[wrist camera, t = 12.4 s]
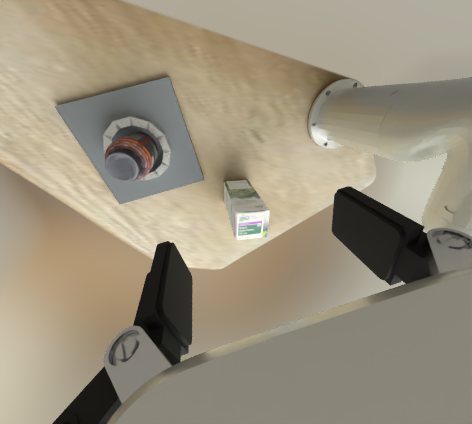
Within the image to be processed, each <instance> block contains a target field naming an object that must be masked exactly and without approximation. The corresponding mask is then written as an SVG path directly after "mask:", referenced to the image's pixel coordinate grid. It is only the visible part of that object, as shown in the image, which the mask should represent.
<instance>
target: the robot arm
mask: <svg viewBox="0 0 472 424" xmlns="http://www.w3.org/2000/svg"><path fill="white" fill-rule="evenodd" d="M312 123H313V124H312ZM308 129H309V134H310V137H311V138H312V140H313V142H314V143H315V144H316V145H318V146H320V147H322V148H326V149H334V148H338V147H340V146H342V145H344V146H347V147H350V148H354V149H357V150H361V151H364V152H367V153H371V154H374V155H378V156H381V157H384V158H388V159H392V160H395V161H400V162H417V161H421V160H426V159H429V158H433V157H436V156H438V155H441V154H444V153H446V152H447V159H446V161H445V164H444V166H443V168H442V172H441V174H440V176H439V178H438V180H437V182H436V184H435V187H434V189H433V191H432V193H431V195H430V197H429V199H428V202H427V204H426V206H425V208H424V211H423V215H422V224H423V226H422V225H420V224H418V223H416V222H414V221H413V220H411V219H409V218H407V217H405V216H403V215H402V214H400V213H398V212H396V211H394V210H392V209H390V208H389V207H387V206H385V205H383V204H381V203H379V202H378V201H376V200H374V199H372V198H370V197H368V196H367V195H365V194H363V193H361V192H359V191H357V190H356V189H354V188H352V187H345V188H342V189H339V190H337V193H335V196H334V208H333V220H332V232H333V234H334V235H335V236H336V237H337V238H338V239H339V240H340V241H341V242H342V243H343V244H344V245H345V246H346V247H347V248H348V249H349V250H350V251H351V252H352V253H353V254H355V255H356V256H357V257H358V258H359V259H360V260H361V261H362V262H363V263H364V264H365V265H366V266H367V267H368V268H369V269H370V270H371V271H373V273H375V274H376V275H377V276H378V277H379V278H380V279H382V280H385V281H386V282H387V283H388V284H389V285H393V284H396V283H399V282H401V280H402V281H403V282H405V283H406V284H404V285H401V286H398V287H395V288H393V289H389V290H386V291H383V292H380V293H377V294H374V295H371V296H368V297H365V298H362V299H359V300H356V301H353V302H350V303H347V304H344V305H341V306H338V307H335V308H332V309H329V310H326V311H323V312H320V313H317V314H314V315H311V316H308V317H305V318H302V319H299V320H296V321H293V322H290V323H287V324H285V325H282V326H279V327H276V328H273V329H270V330H267V331H264V332H261V333H258V334H255V335H252V336H250V337H246V338H244V339H241V340H238V341H235V342H232V343H229V344H227V345H224V346H221V347H218V348H215V349H213V350H210V351H207V352H204V353H202V354H199V355H196V356H194V357H191V358H189V359H187V360H184V361H182V362H180V357H181V355H184V354H187V353H188V345H190V344H191V342H192V276H191V273H190V271H189V270H188V268H187V266H186V264H185V262H184V260H183V259H182V257H181V255H180V253H179V251H178V250H177V248H176V246H175V244H174V243H170V242H169V241H167V242H163V243H160V244H158V245H157V247H156V251H155V255H154V259H153V263H152V267H151V271H150V272H149V273H148V274H147V277H146V280H145V284H144V287H143V291H142V295H141V299H140V302H139V306H138V310H137V314H136V317H135V321H134V325H133V326H131V327H128V328H126V329H125V330H123V331H122V332H121V333H119V334H118V335H117V336H116V337H115V338H114V339H113V340H112V342H111V344H110V345H109V346H108V348H107V351H106V353H105V357H104V367H103V369H102V370H101V371H100V372H99V373H98V374H97V375H96V376H95V377H94V378H93V380H92V381H91V382H90V383H89V384H88V385H87V386H86V387H85V388H84V389H83V391H82V392H81V393H80V394H79V395H78V396H77V397H76V398H75V399H74V401H73V402H72V403H71V404H70V405H69V406H68V407H67V408H66V409H65V410H64V411H63V413H62V414H61V415H60V416H59V417H58V418H57V419H56V420H55V421H54V423H53V424H472V77H469V78H462V79H453V80H443V81H431V82H421V83H409V84H396V85H384V86H372V87H364V86H363V85H362V84H361V83H360V82H359V81H357V80H354V79H341V80H338V81H335V82H333V83H331V84H330V85H328V86H327V87H326V88H324V89H323V91H322V92H321V93H320V94H319V95H318V97H317V98H316V99H315V101H314V103H313V105H312V108H311V110H310V113H309V119H308ZM423 229H425V231H426V232H427V233H425V232H423Z"/></svg>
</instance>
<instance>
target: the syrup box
mask: <svg viewBox="0 0 472 424" xmlns="http://www.w3.org/2000/svg"><path fill="white" fill-rule="evenodd" d="M224 204H225V206H226V209H227V212H228V216H229V219H230V223H231V226H232V230H233V233H234V236H235V239H236V240H243V239H251V238H259V237H267V232H268V225H269V212H270V210H269V209H268V207H267V206H266V205H265V203H264V202H263V200H262V199H261V198H260V196H259V195H258V193H257V192H256V191H255V189H254V188H253V186H252V185H251V184H250V182H249V181H248V180H235V181H224Z"/></svg>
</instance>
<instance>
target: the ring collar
mask: <svg viewBox="0 0 472 424" xmlns="http://www.w3.org/2000/svg"><path fill="white" fill-rule="evenodd" d="M131 125H134V126H137V127H141V128H145V129H147V130H148V131H150V132H151V133H152V134H153V135H154V136H155V137H157V138H158V140H159V142H160V144H161V147H162V149H163V160H162V162H161V164H160V165H159V166H158V167H157V168H155V169H151V170H150V171H149V173H148V174H147V175H146V176H145V177H144V178H142V179H140V180H143V181H146V180H150V179H153V178H157V177H160V176H161V174H162V173H163V172H164V171H165V170H166V169H167V168H168V167H169V164H170V159H171V152H172V148H171V145H170V143H169V140H168V138H167V135H166V133H165V132H164V131H163V130H161V129H160V128H159V127H158V126H157V125H156V124H155V123H154V122H153V121H151V120H147V119H144V118H140V117H137V116H130V117H127V118H123V119H119V120H115V121H113V122H112V123H111V124H110V126H109V127H108V129H107V130H106V131H105V133H104V134H103V148H104V153H105V151H106V149H107V148H108V146H109V145H110V144H111V143H113V142H114V141H116V136H117V135H118V133H119V132H120V131H121V129H122V128H123V127H127V126H131Z"/></svg>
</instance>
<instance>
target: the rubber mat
mask: <svg viewBox="0 0 472 424" xmlns="http://www.w3.org/2000/svg"><path fill="white" fill-rule="evenodd" d="M55 108H56V109H57V111H58V112H59V114H60V115H61V117H62V118H63V120H64V121H65V123H66V124H67V126H68V127H69V129H70V130H71V132H72V133H73V135H74V136H75V138H76V139H77V141H78V142H79V144H80V145H81V147H82V148H83V150H84V151H85V153H86V154H87V156H88V157H89V159H90V160H91V162H92V163H93V165H94V166H95V168H96V169H97V171H98V172H99V174H100V175H101V177H102V178H103V180H104V181H105V183H106V184H107V186H108V187H109V189H110V190H111V192H112V193H113V195H114V196H115V198H116V199H117V201H118V202H119V204H123V203H126V202H130V201H133V200H137V199H140V198H143V197H147V196H150V195H154V194H157V193H161V192H164V191H168V190H171V189H175V188H178V187H181V186H185V185H188V184H192V183H195V182H199V181H202V180H204V178H203V175H202V172H201V169H200V166H199V163H198V160H197V157H196V154H195V151H194V148H193V145H192V142H191V139H190V137H189V134H188V131H187V128H186V125H185V122H184V119H183V116H182V113H181V110H180V107H179V104H178V101H177V98H176V96H175V93H174V90H173V87H172V84H171V81H170V78H169V77H166V78H162V79H158V80H154V81H150V82H146V83H142V84H139V85H135V86H131V87H127V88H123V89H119V90H115V91H112V92H108V93H104V94H100V95H96V96H92V97H88V98H85V99H81V100H77V101H73V102H69V103H65V104H61V105H57V106H55ZM130 116H137V117H140V118H144V119H147V120H151V121H153V122H154V123H155V124H156V125H157V126H158V127H159V128H160V129H161V130H163V131H164V132H165V133H166V135H167V138H168V140H169V143H170V145H171V148H172V152H171V159H170V164H169V167H168V168H167V169H166V170H165V171H164V172H163V173H162V174H161V176H160V177H157V178H153V179H150V180H146V181H143V180H136V181H128V182H122V181H118V180H116V179H114V178H113V177H111V176H110V175H109V173H108V172H107V170H106V168H105V153H104V148H103V134H104V133H105V131H106V130H107V129H108V127H109V126H110V124H111V123H112V122H113V121H115V120H119V119H123V118H127V117H130ZM132 132H143V133H145V134H147V135H149V136H150V137H151V138H153V139H154V141H155V142H156V144H157V146H158V152H159V153H158V157H157V160H156V161H155V163H154V164H153V166H152V168H151V169H155V168H157V167H158V166H159V165H160V164H161V162H162V160H163V149H162V147H161V144H160V142H159V140H158V138H157V137H155V136H154V135H153V134H152V133H151V132H150V131H148V130H147V129H145V128H141V127H137V126H134V125H131V126H127V127H123V128H122V129H121V131H120V132H119V133H118V135H117V136H116V140H118V139H120V138H122V137H123V136H125V135H127V134H129V133H132Z"/></svg>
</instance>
